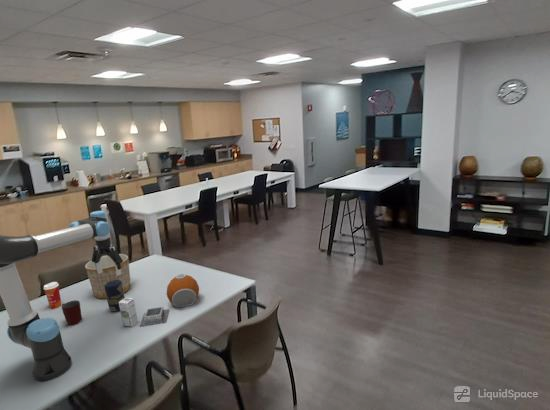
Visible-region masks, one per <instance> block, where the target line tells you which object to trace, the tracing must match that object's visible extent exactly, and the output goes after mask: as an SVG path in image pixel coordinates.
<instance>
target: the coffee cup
mask: <svg viewBox="0 0 550 410" xmlns="http://www.w3.org/2000/svg"><path fill="white" fill-rule="evenodd" d="M59 285H60V284H59V283H58V282H57V281H52V282H49V283H46V284H44V285H43V291H44V292H45V296H46V299H47V302H48V305H49V308H50V309H54V310H55V309H57V308H59V306H60V307H62V299H61V293H60V288H59Z"/></svg>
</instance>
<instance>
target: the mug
mask: <svg viewBox="0 0 550 410" xmlns="http://www.w3.org/2000/svg"><path fill="white" fill-rule="evenodd" d="M61 310H62V313H63V316H64V318H65V321H66V325H67V326H74V325H77V324H79V323H81V322H82V321H83V320H82V319H83V318H82V309H81V303H80V301H79V300H70V301H68V302H64V303H61Z"/></svg>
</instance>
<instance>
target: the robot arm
mask: <svg viewBox="0 0 550 410" xmlns="http://www.w3.org/2000/svg"><path fill="white" fill-rule="evenodd" d="M110 232H111V225H110V224H109V223H108V220H107V215H106V212H105V211H104V210H96V211H92V212H90V213H89V217H86V218H83V219H80V220H76V221H73V222H70V224H69V225H68V227H66V228H62V229H59V230H58V229H57V230H54V231H50V232H47V233H41V234H37V235H32V234H27V235H23V236H9V235H3V234H0V297H1V300H2V302H3V305H4V308H5V309H6V312H7V314H8V317H9V319H8V320H7V326H8V327H7V331H6V332H7V336H8V338H9V339H10V340H11V341H12V342H13V343H15V344H17V345H20V346H23V347H26V348H28V349H30V350H31V353H32V356H33V367H32V368H33V369H32V376H33V379H34V380H35V381H38V382H46V381H50V380H54V379H55V378H58V377H60V376H62V375H64V374H65V373H66V372H67V371H68V370H69V369H70V368H71V366H72V365H73V360H72V357H71V356H70V354H69V353H68V352H67V351H66V349H65V346H64V342H63V338H62V334H61V329H60V326H59V323H58V321H57V320H56V319H54V318H53V317H46V318H45V317H42V318H40V316H39V312H38V311H37V309H36V310H35V309H33V308H32V305H31V303H30V301H29V298H28V295H27V293H26V290H25V288H24V284H23V282H22V279H21V276H20V274H19V271H18V269H17V266H16V263H17V262H22V261H25V260H28V259H31V258H35V257H37V256H38V255H39V254H40V253H42V252H46V251H51V250H54V249H57V248H60V247H64V246H65V247H66V246H68V245H71V244H75V243H79V242H82V241H86V240H89V239H93V238H94V240H95V246H93V252H92V257H91V260H92V262H94V263H95V265H96V268H97V272H98V274H100V273H102V272H103V271H102V266H101V262H99V261H100V259H101V257H102V256H106V255H107V256H109V257H110V258H111V259H112V260H113V261H114V262H115V269H116V274H117V276H118V275H120V274H121V265H120V263H122V262H123V260H122V258H121V257H120V255H119V254H120V253H119V252H118V250H117V247H116V246H111V244H112V240H111V237H110V236H111V235H110Z"/></svg>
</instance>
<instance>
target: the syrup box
mask: <svg viewBox="0 0 550 410" xmlns="http://www.w3.org/2000/svg"><path fill="white" fill-rule="evenodd" d="M119 307H120V310H119V311H120V316H121V321H122V326H124V327H130V328H132V327H133V326H135V325H136V324H137V323H138V322H139V319H138V315H137V314H138V313H137V308H136V304H135V299H134V298H133V297H125V298H124V299H122V300H121V301H120V302H119Z"/></svg>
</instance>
